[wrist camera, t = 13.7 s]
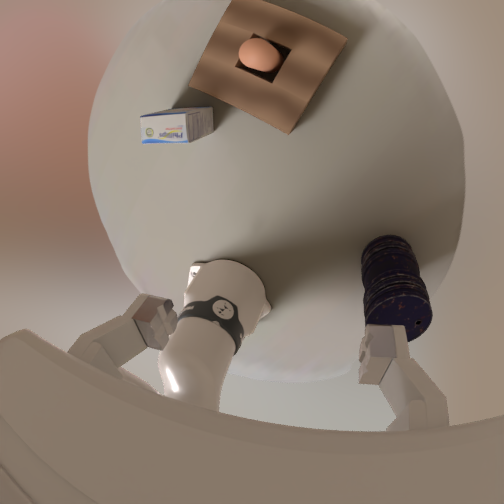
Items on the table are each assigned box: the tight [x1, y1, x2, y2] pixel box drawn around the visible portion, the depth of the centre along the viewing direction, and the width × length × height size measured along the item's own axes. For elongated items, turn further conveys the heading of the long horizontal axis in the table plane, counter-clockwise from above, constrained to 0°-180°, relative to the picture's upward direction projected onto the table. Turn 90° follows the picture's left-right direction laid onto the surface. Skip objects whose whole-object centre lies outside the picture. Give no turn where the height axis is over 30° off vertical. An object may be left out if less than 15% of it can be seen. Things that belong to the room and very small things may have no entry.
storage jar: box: [361, 235, 433, 342], centre depth 37 cm, size 10×10×15 cm
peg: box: [239, 38, 284, 73], centre depth 28 cm, size 4×4×8 cm
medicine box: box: [140, 107, 214, 144], centre depth 36 cm, size 8×4×9 cm, turn 89°
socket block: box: [188, 0, 348, 135], centre depth 30 cm, size 16×16×4 cm
